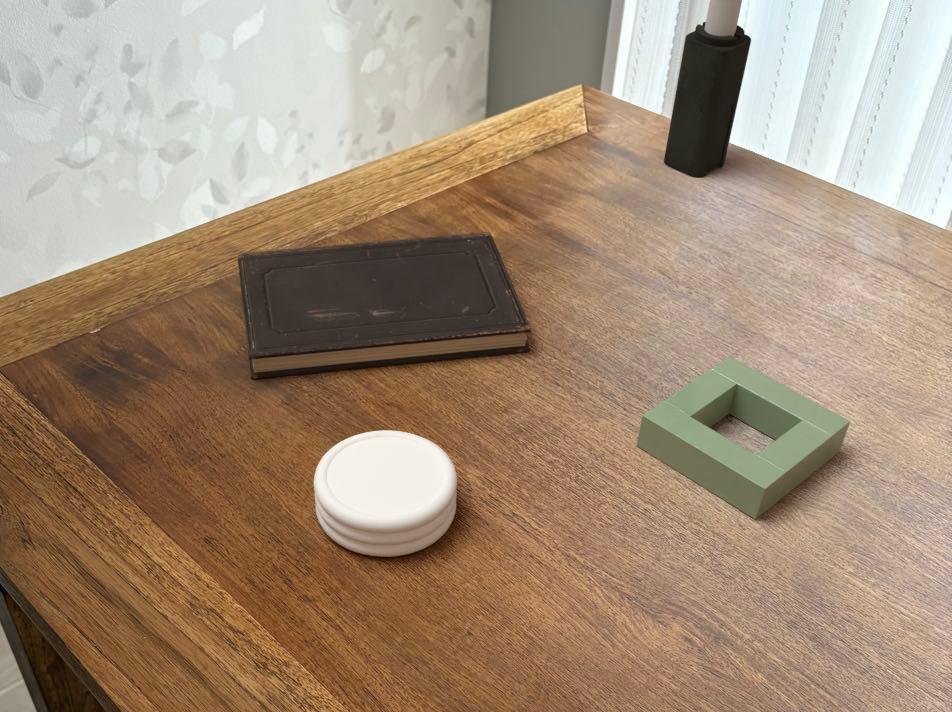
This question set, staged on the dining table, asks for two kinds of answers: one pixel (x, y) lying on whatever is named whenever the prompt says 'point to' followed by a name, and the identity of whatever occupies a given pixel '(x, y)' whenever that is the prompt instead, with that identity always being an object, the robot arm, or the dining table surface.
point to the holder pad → (728, 464)
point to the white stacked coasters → (385, 493)
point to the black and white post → (708, 91)
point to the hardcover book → (378, 304)
